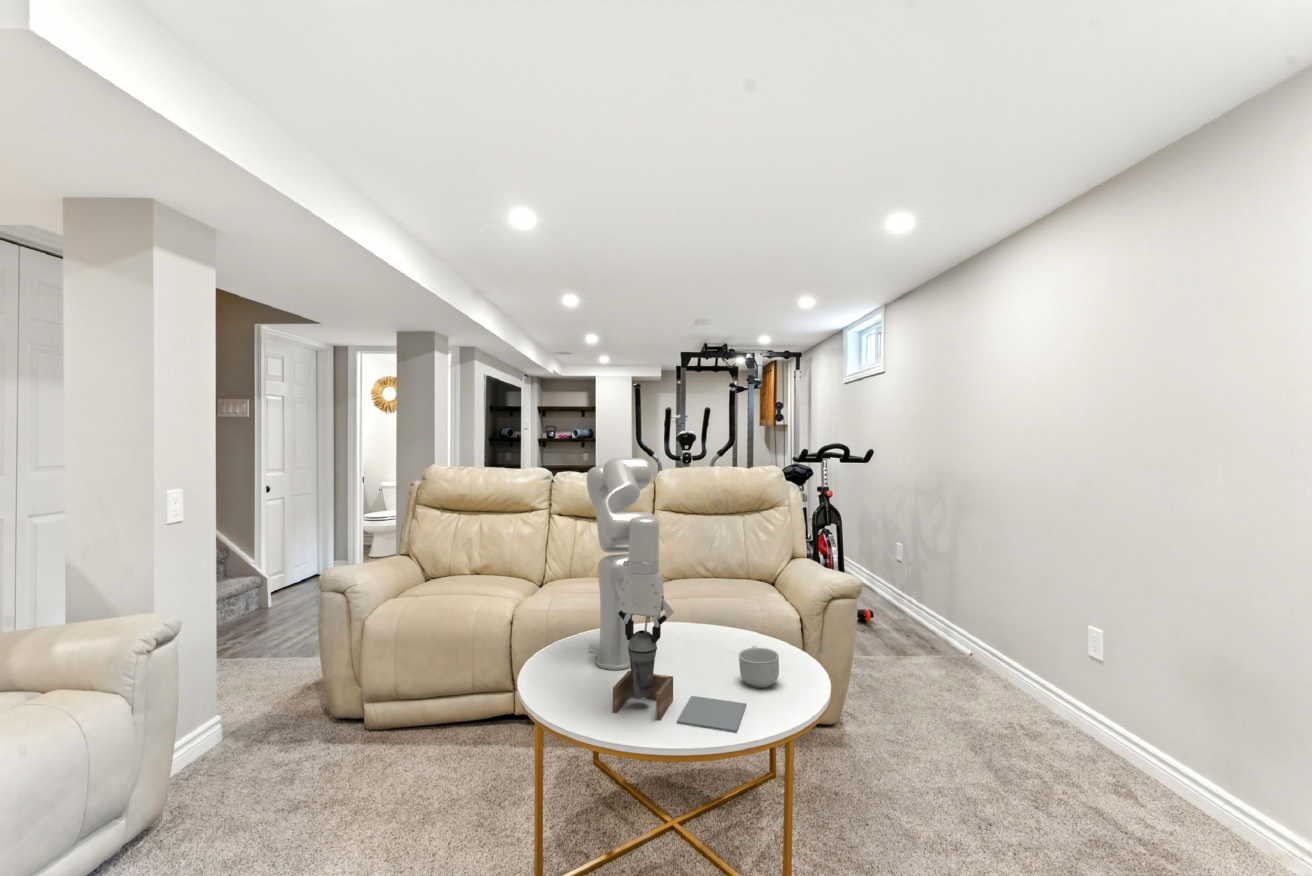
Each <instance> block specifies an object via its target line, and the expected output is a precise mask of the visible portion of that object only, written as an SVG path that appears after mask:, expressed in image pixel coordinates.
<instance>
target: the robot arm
mask: <svg viewBox="0 0 1312 876" xmlns="http://www.w3.org/2000/svg"><path fill="white" fill-rule="evenodd" d="M652 478H653V470H652V467H651V464H650V462H649V461H648V460H647V459H645V458H643V457H617V458H615V457H613V458H611V459H609V460H607V461H606V462H605V463H604V465H596V466H593V467H591V468H590V469H589V470H588V471H587V474H586V486H587V489H586V490H587V493H588V495H589V499H590V501H591V504H592V506H593V508H594V511H595V515H596V524H597V526H596V527H597V535H598V542H599V547H600V549H601V550H602V552H604V553H610V555H606V556H604V557H601V559H599V561H598V563H597V578H598V587H599V601H600V602H599V604H600V605H599V606H600V607H599V610H600V612H599V615H600V617H599V618H600V619H599V620H600V621H599V622H600V623H599V644H598V645H597V644H592V643H590V644H588V646H587V651H588V652H587V653H588V654H595V657H594V664H595V666H596V667H599V668H601V669H604V670H612V671H615V670H616V671H617V670H619V671H620V670H626V669H631V665H630V656H629V650H628V645H629V641H630V639H631V637H632V635H633V634H634V630H635V628H634V626H635V621H634V620H633V617H634V616H642V617H646V616H648V617H649V618H650V617H651V619H652V623H653V626H652V629H651V630H652V631H651V634H652V643H656V644H657V642H658V641H659V640H660V639H661V634H662V633H661V631H662V630H661V629H662V628H661V626H662V625H663V624H664V622H665V621H667V620H668V619H669V618H670V617H671V616H672V615H673V614H674V610H673V608H672V607H671V606H670V604H668V602H666V600H665V592H664V590H665V589H664V583H663V582H664V581H663V577H662V572H660V570H659V569H660V568H659V567H660V565H659V564H660V522H659V520H658V518H656V516H655V515H654V514H653V513H652V512H651V511H650V512H649V511H624V510H625V509H628V508H629V507H631V506H633V505H634V504H636V503H637V501H638V500H639V498H640V495H641V494H640V493H641V491H642V490H643V489H644V488H646V487H649V486H648V485H650V484H651V481H652ZM611 553H612V554H611ZM615 553H616V554H615ZM617 553H618V554H617ZM619 553H622V554H619ZM663 611H664V612H665V613H664V614H663V615H661V612H663Z"/></svg>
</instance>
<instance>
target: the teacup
mask: <svg viewBox="0 0 1312 876" xmlns="http://www.w3.org/2000/svg"><path fill="white" fill-rule="evenodd" d="M779 658H780V654H779V653H778V652H777V650H774V649H771V648H768V647H767V648H766V647H758V646H757V645H751V647H749V648H745V649H742V650H741V651H739V653H738V661H739V672H740V676H741V679H742V680H743V681H744V682H745V683H746V684H747V685H749V686H751V687H754V688H759V689H760V688H761V689H762V688H768V687H770V686H772V685H773V684H774V683H775V682H776V681H777V680H778V678H779V676H780V675H779V674H780V662H779V661H780V659H779Z"/></svg>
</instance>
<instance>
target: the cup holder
mask: <svg viewBox="0 0 1312 876" xmlns="http://www.w3.org/2000/svg"><path fill="white" fill-rule="evenodd" d="M631 697H635V696H634V695H633V689H632V678H631V670H628V671H627V672H626V673H625V674H624V675H623V676H622V677H621V678H620V680H618V681H617V682H616V684H615V685H613V687H612V714H618V713H619V711H620V710H621V709H622V708H623V706H624V705H625V704H626V702H628V700H629V699H630V698H631ZM635 698H636V697H635ZM646 699H648V700H655V703H656V704H655V705H656V706H655V709H656V710H655V711H656V712H655V720H656V721H661V720H662V719H663V717H664V716H665V714H666V712H667V710H669V707H671V705H672V703H673V702H674V676H671V675H663V674H657V673H653V683H652V691H651V696H650V697H648V698H646Z"/></svg>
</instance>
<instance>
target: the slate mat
mask: <svg viewBox="0 0 1312 876" xmlns="http://www.w3.org/2000/svg"><path fill="white" fill-rule="evenodd" d="M746 707H747V703H745V702H738V701H731V700H725V699H718V698H711V697H710V698H709V697H703V696H696V695H691V696H690V697H689V699H688V701H687V702H686V704H685V705H684V708H683V710H682V712H681V713H680V715H679V716H678V718H677V720H676V724H680V725H685V726H693V727H697V728H698V727H699V728H704V729H705V728H706V729H710V728H711V730H717V729H718V731H723V730H725V732H729V733H736V732H737V733H738V731H739V727H740V724H741V721H742V719H743V716H744V713H745V711H746ZM737 730H738V731H737Z"/></svg>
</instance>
